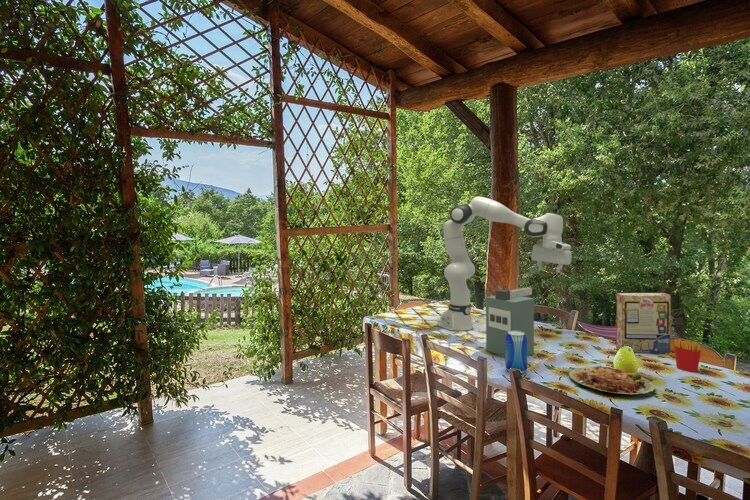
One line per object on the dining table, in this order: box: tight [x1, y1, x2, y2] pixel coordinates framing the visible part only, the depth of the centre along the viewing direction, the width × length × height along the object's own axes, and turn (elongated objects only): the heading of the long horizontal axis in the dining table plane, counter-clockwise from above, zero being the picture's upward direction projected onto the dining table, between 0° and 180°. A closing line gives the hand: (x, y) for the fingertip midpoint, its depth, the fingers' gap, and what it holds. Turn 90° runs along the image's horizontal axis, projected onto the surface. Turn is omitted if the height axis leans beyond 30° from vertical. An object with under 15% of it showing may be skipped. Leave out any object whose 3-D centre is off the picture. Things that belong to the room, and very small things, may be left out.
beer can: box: [504, 331, 528, 375], centre depth 157 cm, size 8×8×16 cm
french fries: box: [673, 338, 702, 374], centre depth 154 cm, size 8×4×12 cm, turn 33°
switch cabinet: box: [485, 295, 535, 358], centre depth 179 cm, size 16×16×26 cm
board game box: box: [615, 292, 672, 354], centre depth 177 cm, size 20×6×27 cm, turn 80°
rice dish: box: [568, 365, 655, 395], centre depth 144 cm, size 28×28×5 cm
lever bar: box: [494, 287, 533, 301], centre depth 181 cm, size 5×22×4 cm, turn 124°
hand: (549, 271), depth 196 cm, fingers open, 8 cm apart
